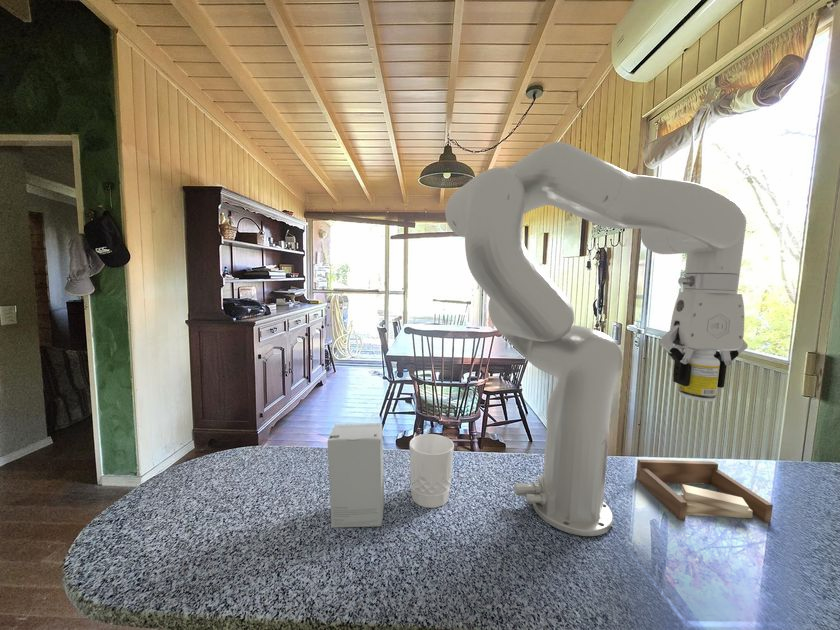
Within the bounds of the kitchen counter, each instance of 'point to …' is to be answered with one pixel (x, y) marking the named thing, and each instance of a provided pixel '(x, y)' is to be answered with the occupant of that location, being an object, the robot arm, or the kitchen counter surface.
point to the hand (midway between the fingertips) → (698, 383)
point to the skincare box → (356, 475)
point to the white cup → (431, 469)
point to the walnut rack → (706, 472)
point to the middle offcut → (713, 509)
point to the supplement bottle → (702, 376)
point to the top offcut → (715, 499)
